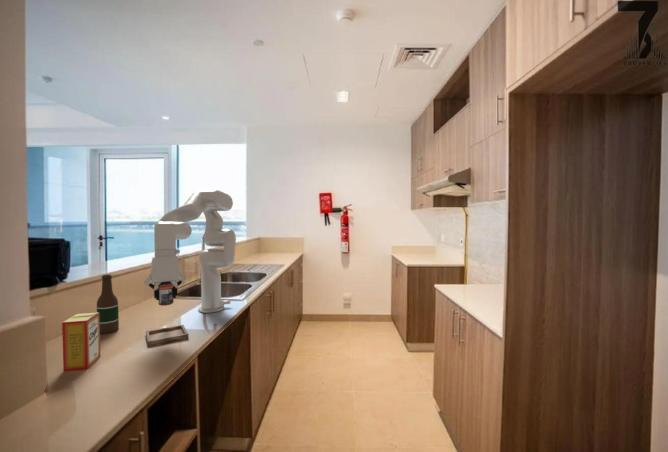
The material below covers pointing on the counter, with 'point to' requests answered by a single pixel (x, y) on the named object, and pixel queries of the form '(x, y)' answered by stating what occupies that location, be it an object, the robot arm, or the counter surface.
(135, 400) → the counter surface
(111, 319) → the beer bottle
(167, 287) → the supplement bottle
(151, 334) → the walnut tray
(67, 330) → the baking soda box
